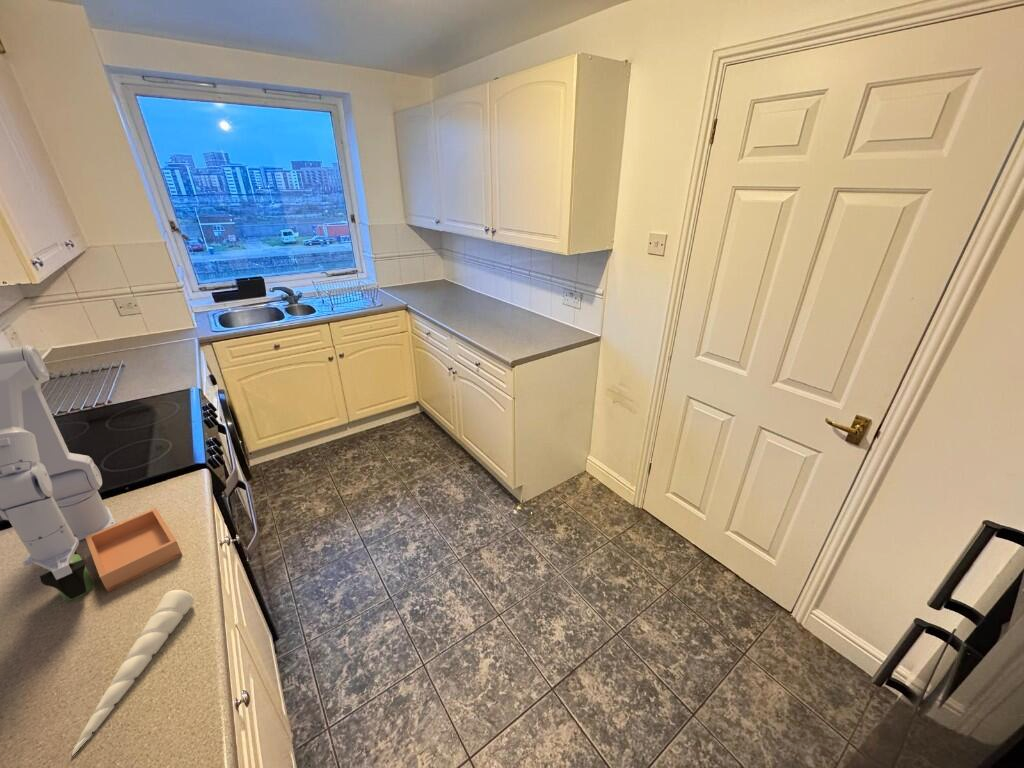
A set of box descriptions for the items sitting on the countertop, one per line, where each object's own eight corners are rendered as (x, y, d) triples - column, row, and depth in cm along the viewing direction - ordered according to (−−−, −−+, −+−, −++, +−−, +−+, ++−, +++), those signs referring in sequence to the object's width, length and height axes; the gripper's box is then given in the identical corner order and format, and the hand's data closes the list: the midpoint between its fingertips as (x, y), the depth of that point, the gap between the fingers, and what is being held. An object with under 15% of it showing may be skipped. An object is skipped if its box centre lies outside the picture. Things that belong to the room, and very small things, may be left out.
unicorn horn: (43, 760, 56) (27, 740, 54) (173, 605, 78) (165, 586, 76) (79, 760, 56) (64, 740, 54) (198, 605, 78) (191, 586, 76)
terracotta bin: (92, 551, 89) (85, 537, 88) (161, 521, 98) (155, 507, 96) (107, 592, 80) (99, 577, 78) (182, 555, 89) (176, 540, 87)
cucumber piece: (61, 591, 80) (44, 564, 77) (92, 576, 83) (78, 550, 81) (64, 604, 78) (47, 577, 75) (96, 588, 81) (82, 562, 78)
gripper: (7, 523, 76) (41, 577, 81) (13, 564, 67) (50, 621, 73) (61, 503, 81) (90, 555, 86) (73, 539, 72) (103, 594, 78)
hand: (75, 584), depth 80 cm, fingers open, 7 cm apart
